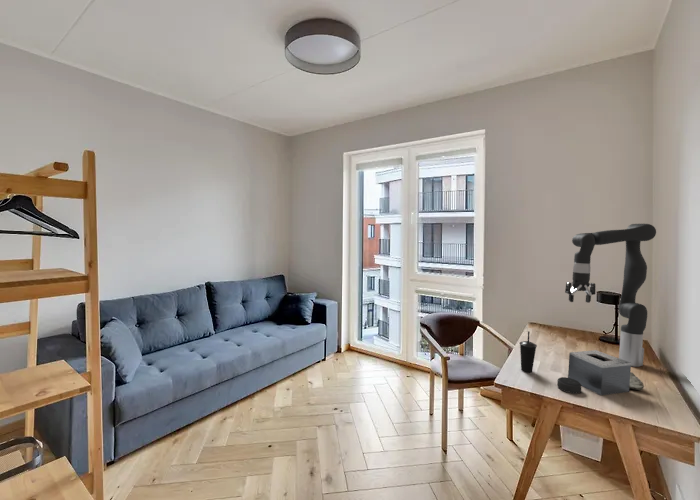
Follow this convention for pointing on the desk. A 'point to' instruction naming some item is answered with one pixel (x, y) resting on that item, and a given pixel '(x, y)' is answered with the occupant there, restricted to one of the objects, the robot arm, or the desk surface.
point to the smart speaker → (569, 385)
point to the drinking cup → (527, 355)
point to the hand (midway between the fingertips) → (579, 302)
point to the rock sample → (635, 382)
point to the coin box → (599, 372)
